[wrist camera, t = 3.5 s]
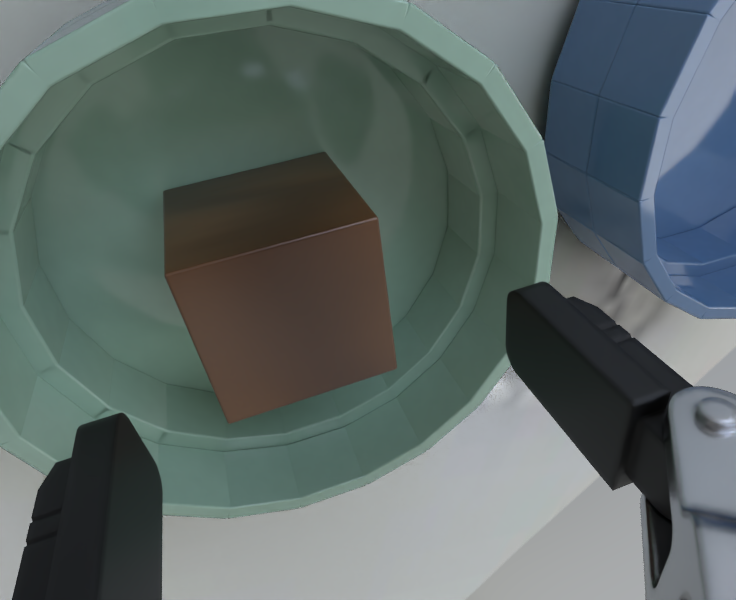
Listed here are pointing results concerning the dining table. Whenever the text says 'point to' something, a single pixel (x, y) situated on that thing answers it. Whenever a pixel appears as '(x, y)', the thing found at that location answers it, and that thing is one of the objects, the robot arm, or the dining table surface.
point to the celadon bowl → (237, 154)
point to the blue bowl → (651, 144)
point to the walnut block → (279, 283)
